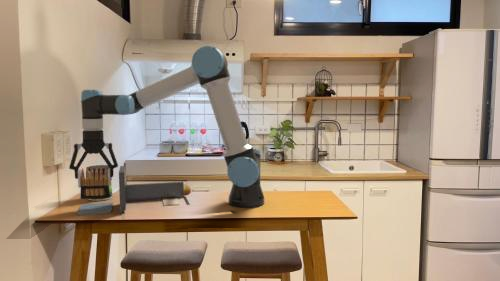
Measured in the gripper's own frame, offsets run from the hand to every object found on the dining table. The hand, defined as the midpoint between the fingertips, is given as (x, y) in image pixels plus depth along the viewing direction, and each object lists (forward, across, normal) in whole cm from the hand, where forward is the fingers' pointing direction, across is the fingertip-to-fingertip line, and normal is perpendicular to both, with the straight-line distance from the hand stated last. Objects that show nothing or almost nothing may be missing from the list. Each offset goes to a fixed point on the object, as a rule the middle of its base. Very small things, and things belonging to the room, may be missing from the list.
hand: (94, 186), depth 153 cm
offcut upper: (+9, -29, +2) cm, 31 cm away
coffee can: (+10, 0, -19) cm, 21 cm away
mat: (+9, 0, 0) cm, 9 cm away
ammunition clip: (+5, 0, 0) cm, 5 cm away
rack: (+9, -23, +2) cm, 25 cm away
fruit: (+10, -34, -13) cm, 38 cm away
